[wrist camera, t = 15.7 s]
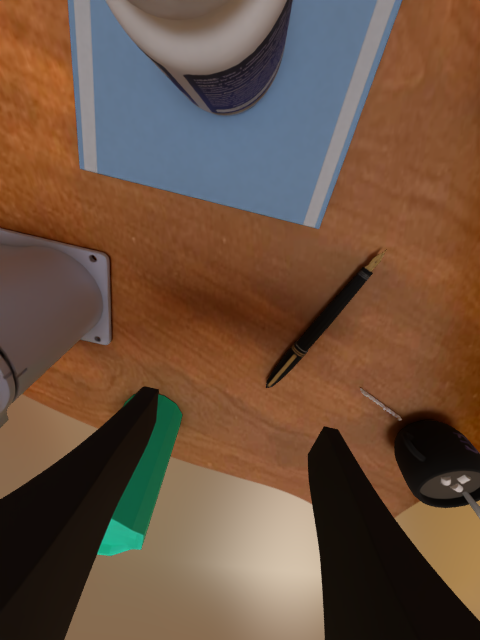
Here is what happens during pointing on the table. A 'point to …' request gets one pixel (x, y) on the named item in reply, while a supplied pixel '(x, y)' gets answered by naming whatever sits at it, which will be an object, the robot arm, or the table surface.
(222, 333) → the table surface
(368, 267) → the fountain pen
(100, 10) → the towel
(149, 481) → the candle
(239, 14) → the pill bottle
